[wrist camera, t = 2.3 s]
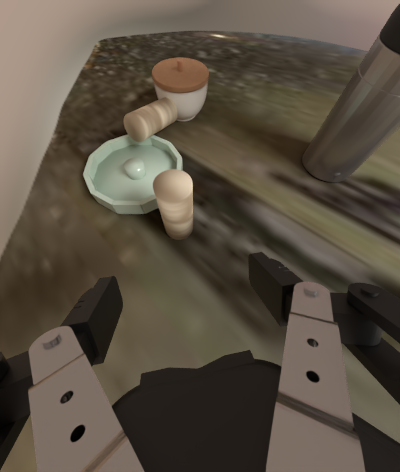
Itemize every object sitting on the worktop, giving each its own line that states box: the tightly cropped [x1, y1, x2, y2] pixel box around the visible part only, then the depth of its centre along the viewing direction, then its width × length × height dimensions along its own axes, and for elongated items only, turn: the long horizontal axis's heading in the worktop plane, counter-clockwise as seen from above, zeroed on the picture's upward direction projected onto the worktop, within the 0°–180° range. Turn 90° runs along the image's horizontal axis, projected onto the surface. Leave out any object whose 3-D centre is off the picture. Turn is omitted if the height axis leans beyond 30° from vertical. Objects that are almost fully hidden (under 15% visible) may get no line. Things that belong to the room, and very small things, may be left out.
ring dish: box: [83, 134, 183, 214], centre depth 33 cm, size 16×16×3 cm
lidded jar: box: [152, 58, 209, 121], centre depth 38 cm, size 11×11×9 cm
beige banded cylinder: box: [124, 97, 178, 142], centre depth 35 cm, size 4×4×10 cm
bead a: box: [153, 169, 193, 240], centre depth 25 cm, size 4×4×10 cm
